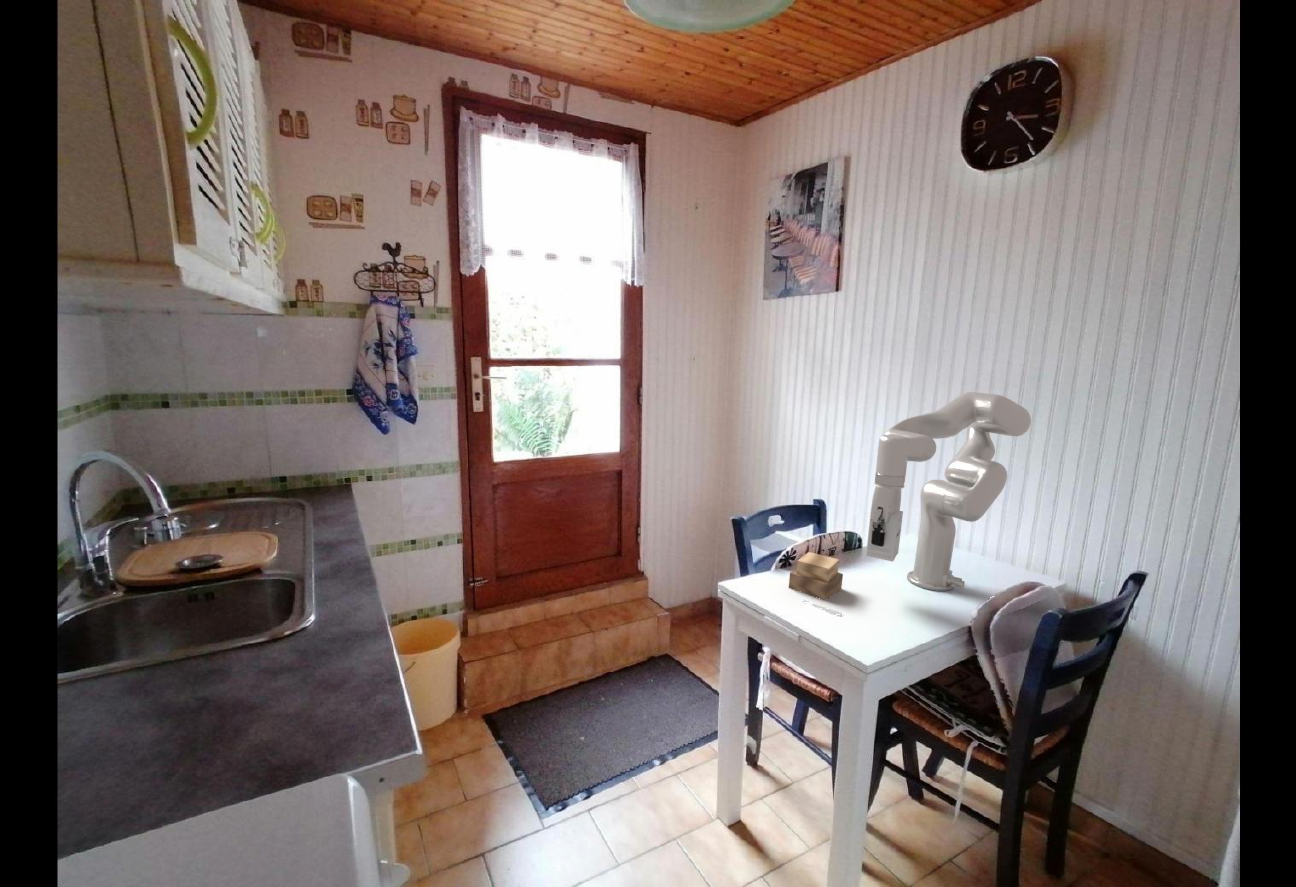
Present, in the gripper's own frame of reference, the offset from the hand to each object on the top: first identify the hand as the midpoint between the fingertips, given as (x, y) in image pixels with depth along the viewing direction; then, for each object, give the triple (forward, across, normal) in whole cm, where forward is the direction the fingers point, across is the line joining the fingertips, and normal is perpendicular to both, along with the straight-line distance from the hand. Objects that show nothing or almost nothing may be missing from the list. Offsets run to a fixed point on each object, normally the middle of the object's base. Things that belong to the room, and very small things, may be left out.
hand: (883, 540), depth 155 cm
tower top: (+11, +9, -14) cm, 20 cm away
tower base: (+16, +9, -14) cm, 24 cm away
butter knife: (+16, +19, -14) cm, 29 cm away
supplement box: (+4, 0, 0) cm, 4 cm away
